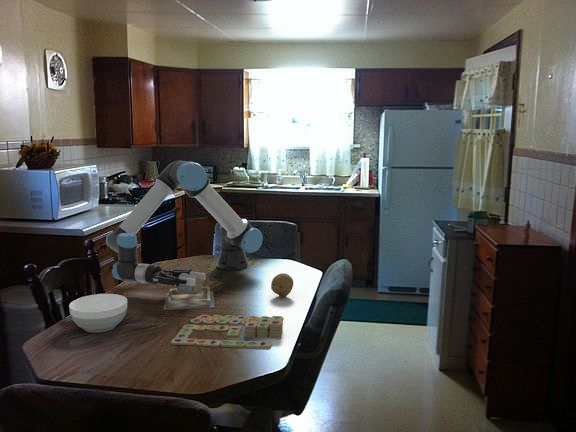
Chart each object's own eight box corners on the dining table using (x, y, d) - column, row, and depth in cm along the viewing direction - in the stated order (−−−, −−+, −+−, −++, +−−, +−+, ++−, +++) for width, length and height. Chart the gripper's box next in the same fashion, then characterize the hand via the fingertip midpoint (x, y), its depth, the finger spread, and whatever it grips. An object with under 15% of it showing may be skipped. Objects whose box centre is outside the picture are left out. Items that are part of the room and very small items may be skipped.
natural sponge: (280, 302, 207) (280, 278, 205) (266, 296, 214) (266, 273, 212) (297, 297, 213) (297, 274, 211) (283, 292, 219) (283, 269, 218)
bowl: (110, 339, 170) (109, 314, 168) (58, 334, 174) (57, 309, 172) (138, 319, 188) (137, 295, 187) (90, 314, 192) (89, 291, 190)
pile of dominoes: (285, 319, 190) (285, 305, 190) (278, 351, 164) (278, 334, 163) (191, 316, 193) (191, 301, 192) (169, 346, 167) (169, 329, 166)
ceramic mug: (193, 297, 202) (193, 277, 201) (175, 294, 205) (175, 275, 204) (208, 289, 212) (208, 271, 211) (190, 287, 215) (190, 269, 214)
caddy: (209, 292, 217) (209, 287, 217) (210, 305, 202) (210, 299, 201) (170, 294, 214) (169, 288, 214) (167, 307, 199) (167, 301, 198)
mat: (213, 291, 219) (213, 291, 219) (214, 308, 200) (214, 307, 200) (166, 293, 216) (166, 292, 216) (163, 310, 197) (163, 309, 197)
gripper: (162, 276, 222) (211, 281, 215) (134, 290, 203) (187, 296, 196) (162, 258, 221) (211, 263, 214) (134, 271, 201) (187, 277, 195)
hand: (199, 279), depth 205 cm, fingers closed on ceramic mug, 8 cm apart
